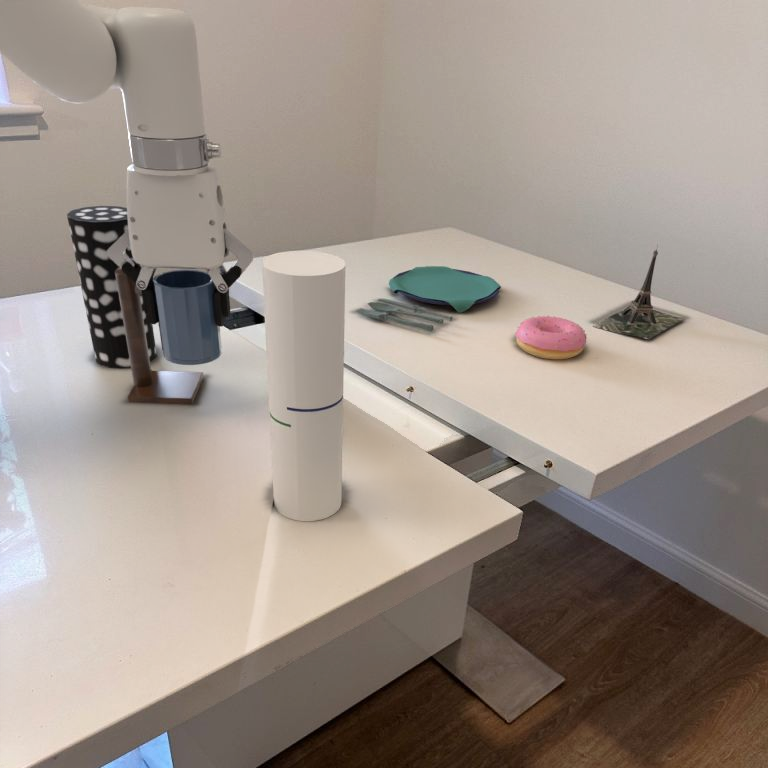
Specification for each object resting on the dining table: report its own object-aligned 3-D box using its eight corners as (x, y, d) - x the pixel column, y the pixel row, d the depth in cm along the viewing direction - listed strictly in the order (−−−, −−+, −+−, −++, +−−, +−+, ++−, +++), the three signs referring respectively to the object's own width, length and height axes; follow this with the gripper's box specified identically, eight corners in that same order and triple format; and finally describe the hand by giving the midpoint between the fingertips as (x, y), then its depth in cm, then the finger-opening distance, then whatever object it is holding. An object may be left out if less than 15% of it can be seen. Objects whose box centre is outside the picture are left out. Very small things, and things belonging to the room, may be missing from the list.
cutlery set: (515, 292, 135) (517, 280, 134) (439, 340, 114) (441, 326, 113) (424, 271, 144) (425, 259, 142) (337, 311, 123) (337, 298, 121)
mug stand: (127, 407, 91) (105, 281, 82) (143, 380, 98) (124, 261, 89) (232, 410, 92) (221, 286, 83) (240, 383, 98) (232, 265, 89)
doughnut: (528, 365, 108) (533, 338, 106) (504, 337, 117) (507, 312, 114) (595, 361, 110) (601, 336, 108) (566, 334, 119) (571, 310, 116)
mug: (216, 366, 84) (209, 289, 79) (157, 364, 84) (146, 287, 78) (230, 331, 93) (224, 260, 87) (177, 329, 92) (168, 258, 87)
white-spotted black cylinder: (125, 345, 107) (100, 202, 95) (169, 357, 104) (150, 212, 93) (83, 364, 101) (52, 215, 89) (129, 378, 98) (103, 225, 86)
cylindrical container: (332, 525, 73) (334, 279, 58) (265, 515, 74) (250, 270, 59) (347, 487, 79) (353, 255, 64) (284, 479, 79) (276, 247, 65)
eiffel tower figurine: (648, 343, 117) (671, 260, 110) (592, 326, 123) (610, 246, 115) (684, 321, 127) (707, 243, 119) (631, 306, 132) (650, 230, 124)
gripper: (258, 151, 77) (267, 312, 88) (94, 143, 76) (122, 307, 87) (249, 164, 71) (259, 336, 81) (71, 156, 70) (104, 330, 81)
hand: (188, 320), depth 84 cm, fingers closed on mug, 6 cm apart
